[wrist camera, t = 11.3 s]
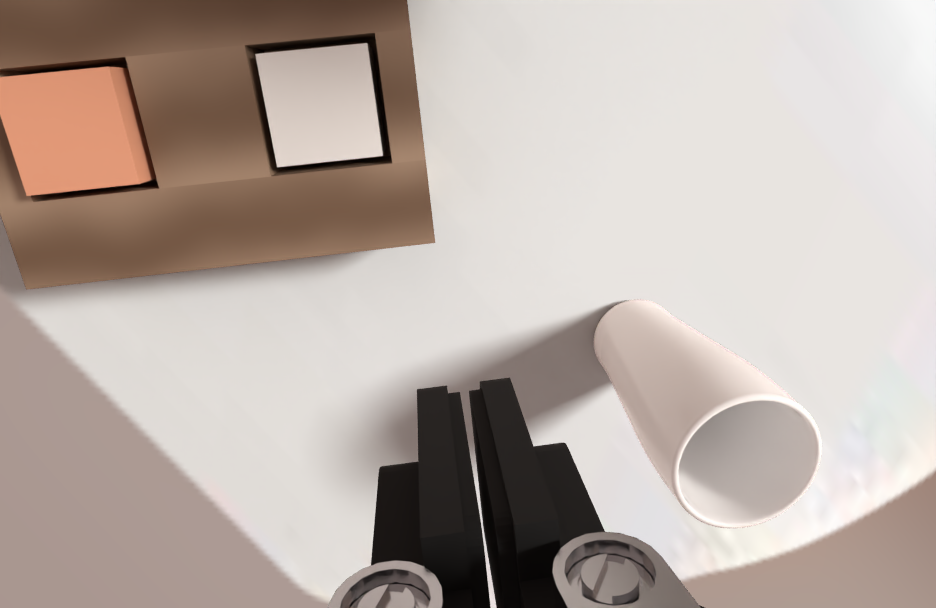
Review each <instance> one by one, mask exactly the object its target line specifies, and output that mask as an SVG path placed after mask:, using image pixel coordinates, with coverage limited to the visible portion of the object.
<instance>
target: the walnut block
mask: <svg viewBox="0 0 936 608" xmlns="http://www.w3.org/2000/svg"><path fill="white" fill-rule="evenodd" d="M362 43H368V44H369V46H370V47H371V48H372V50H373V57H374V64H375V72H376V79H377V87H378V94H379V101H380V109H381V116H382V123H383V131H384V138H385V145H386V150H385V152H384V154H383V156H377V157H368V158H358V159H349V160H340V161H330V162H321V163H312V164H302V165H293V166H284V167H277V164H276V159H275V154H274V148H273V143H272V138H271V133H270V128H269V123H268V117H267V112H266V107H265V102H264V97H263V92H262V86H261V81H260V76H259V71H258V66H257V61H256V55H255V54H260V53H270V52H280V51H290V50H301V49H311V48H321V47H331V46H341V45H352V44H362ZM99 67H120V68H128V69H129V73H130V77H131V81H132V85H133V89H134V93H135V97H136V100H137V104H138V108H139V112H140V116H141V120H142V124H143V128H144V132H145V135H146V139H147V143H148V147H149V151H150V155H151V159H152V163H153V166H154V170H155V174H156V178H155V179H152V180H150V181H147V182H144V183H141V184H134V185H124V186H115V187H106V188H96V189H87V190H78V191H68V192H59V193H50V194H40V195H31V196H27V195H26V192H25V189H24V186H23V183H22V180H21V177H20V174H19V171H18V168H17V165H16V162H15V159H14V156H13V153H12V150H11V146H10V143H9V140H8V137H7V134H6V131H5V128H4V125H3V122H2V119H1V116H0V215H1V218H2V221H3V223H4V226H5V229H6V232H7V235H8V238H9V241H10V244H11V247H12V250H13V252H14V255H15V258H16V261H17V264H18V267H19V270H20V273H21V276H22V278H23V281H24V284H25V287H26V289H35V288H44V287H52V286H61V285H70V284H79V283H87V282H96V281H105V280H114V279H122V278H131V277H140V276H149V275H157V274H166V273H175V272H184V271H192V270H201V269H210V268H219V267H227V266H236V265H245V264H254V263H262V262H271V261H280V260H288V259H297V258H306V257H315V256H323V255H332V254H341V253H350V252H358V251H367V250H376V249H385V248H393V247H402V246H411V245H420V244H428V243H435V237H434V229H433V220H432V211H431V203H430V194H429V186H428V177H427V168H426V160H425V151H424V143H423V134H422V126H421V117H420V108H419V100H418V91H417V83H416V74H415V65H414V57H413V48H412V40H411V31H410V22H409V14H408V5H407V0H0V77H7V76H18V75H28V74H38V73H48V72H59V71H69V70H79V69H89V68H99Z"/></svg>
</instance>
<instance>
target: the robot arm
mask: <svg viewBox="0 0 936 608" xmlns="http://www.w3.org/2000/svg"><path fill="white" fill-rule="evenodd" d="M469 396H470V406H471V415H472V425H473V434H474V443H475V453H476V462H477V471H478V481H479V490H480V500H481V509H482V518H483V526H484V533H485V539H486V545H487V551H488V558H489V564H490V570H491V576H492V582H493V588H494V594H495V600H496V606H497V608H704V607H702V606H700V605H698V603H697V602H696V601H695V599H694V598H693V597H692V596H691V594H690V593H689V592H688V590H687V589H686V588H685V586H684V585H683V584H682V582H681V581H680V580H679V579H678V577H677V576H676V575H675V573H674V572H673V571H672V569H671V568H670V567H669V566H668V564H667V563H666V562H665V560H664V559H663V558H662V556H660V555H659V554H658V553H657V552H656V551H655V550H654V549H653V548H652V547H651V546H650V545H648V544H646V543H644V542H643V541H641V540H639V539H637V538H635V537H631V536H628V535H625V534H621V533H613V532H605V531H604V529H603V526H602V524H601V522H600V520H599V517H598V515H597V513H596V511H595V508H594V506H593V504H592V501H591V499H590V497H589V495H588V492H587V490H586V488H585V485H584V483H583V481H582V479H581V476H580V474H579V472H578V470H577V467H576V465H575V463H574V460H573V458H572V456H571V454H570V451H569V449H568V447H567V445H566V444H565V443H557V444H549V445H542V446H534V447H533V444H532V441H531V438H530V435H529V432H528V429H527V426H526V423H525V420H524V418H523V415H522V412H521V409H520V406H519V403H518V400H517V397H516V394H515V391H514V388H513V386H512V383H511V380H510V378H504V379H496V380H488V381H480V390H472V391H469ZM417 410H418V460H419V462H412V463H405V464H397V465H390V466H382V467H380V469H379V477H378V489H377V501H376V513H375V525H374V537H373V548H372V560H371V566H369V567H366V568H363V569H361V570H360V571H358V572H357V573H355V574H353V575H352V576H350V577H349V578H347V579H346V580H345V581H344V582H343V583H342V584H341V586H340V587H339V588H338V589H337V590H336V591H335V593H334V595H333V597H332V599H331V600H330V602H329V604H328V607H327V608H490V599H489V590H488V581H487V572H486V562H485V553H484V544H483V536H482V529H481V522H480V515H479V509H478V502H477V496H476V490H475V484H474V478H473V471H472V465H471V459H470V453H469V447H468V440H467V434H466V428H465V422H464V416H463V409H462V403H461V397H460V392H456V393H449V394H448V391H447V386H440V387H433V388H425V389H417Z"/></svg>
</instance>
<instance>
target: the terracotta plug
mask: <svg viewBox="0 0 936 608" xmlns="http://www.w3.org/2000/svg"><path fill="white" fill-rule="evenodd" d="M0 116H1V119H2V122H3V125H4V128H5V131H6V134H7V137H8V140H9V143H10V146H11V150H12V153H13V156H14V159H15V162H16V165H17V168H18V171H19V174H20V177H21V180H22V183H23V186H24V189H25V192H26V195H27V196H31V195H40V194H50V193H59V192H68V191H78V190H87V189H96V188H106V187H115V186H124V185H134V184H141V183H144V182H147V181H150V180H152V179H155V178H156V174H155V170H154V166H153V163H152V159H151V155H150V151H149V147H148V143H147V139H146V135H145V132H144V128H143V124H142V120H141V116H140V112H139V108H138V104H137V100H136V97H135V93H134V89H133V85H132V81H131V77H130V73H129V69H128V68H120V67H99V68H89V69H79V70H69V71H59V72H48V73H38V74H28V75H18V76H7V77H0Z"/></svg>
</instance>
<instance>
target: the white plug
mask: <svg viewBox="0 0 936 608" xmlns="http://www.w3.org/2000/svg"><path fill="white" fill-rule="evenodd" d="M255 55H256V61H257V66H258V71H259V76H260V81H261V86H262V92H263V97H264V102H265V107H266V112H267V117H268V123H269V128H270V133H271V138H272V143H273V148H274V154H275V159H276V164H277V167H284V166H293V165H302V164H312V163H321V162H330V161H340V160H349V159H358V158H368V157H377V156H383V154H384V152H385V150H386V145H385V138H384V131H383V123H382V116H381V109H380V101H379V94H378V87H377V79H376V72H375V64H374V57H373V50H372V48H371V47H370V46H369V44H368V43H362V44H352V45H341V46H331V47H321V48H311V49H301V50H290V51H280V52H270V53H260V54H255Z"/></svg>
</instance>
